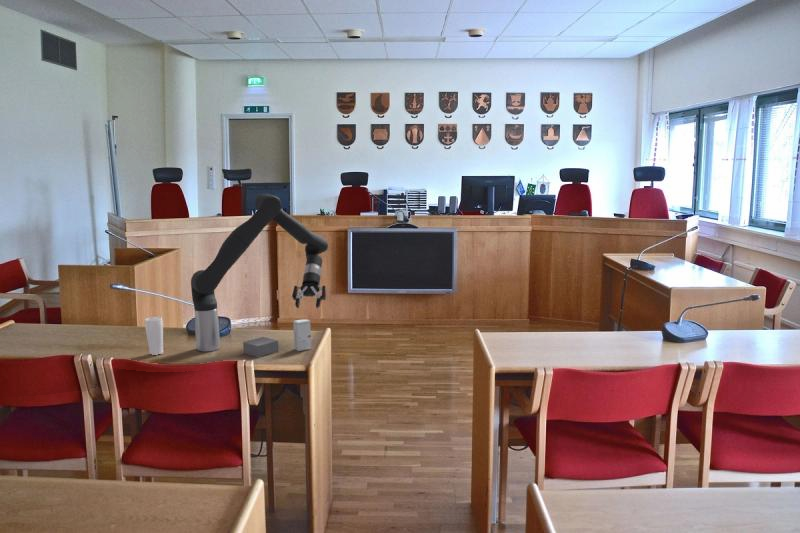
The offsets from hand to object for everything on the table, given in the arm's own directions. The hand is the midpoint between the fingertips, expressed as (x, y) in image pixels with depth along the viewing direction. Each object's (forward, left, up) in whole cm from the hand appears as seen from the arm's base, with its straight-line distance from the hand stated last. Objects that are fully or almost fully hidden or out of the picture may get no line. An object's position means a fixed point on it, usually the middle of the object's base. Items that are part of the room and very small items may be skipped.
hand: (307, 307), depth 280 cm
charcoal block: (-5, -22, -16) cm, 28 cm away
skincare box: (+6, -9, -15) cm, 19 cm away
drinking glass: (-40, -48, -15) cm, 64 cm away
